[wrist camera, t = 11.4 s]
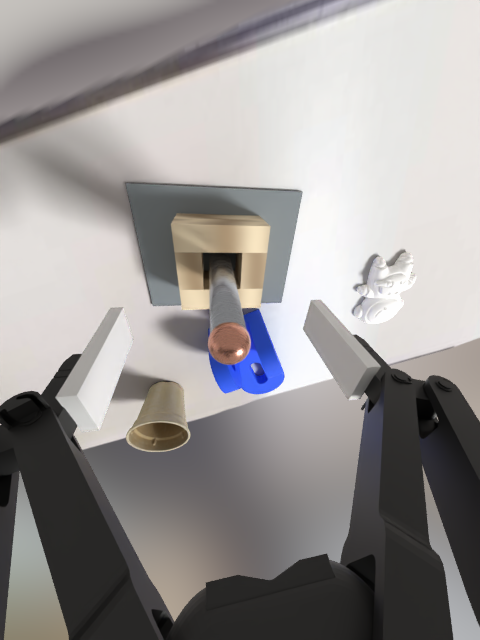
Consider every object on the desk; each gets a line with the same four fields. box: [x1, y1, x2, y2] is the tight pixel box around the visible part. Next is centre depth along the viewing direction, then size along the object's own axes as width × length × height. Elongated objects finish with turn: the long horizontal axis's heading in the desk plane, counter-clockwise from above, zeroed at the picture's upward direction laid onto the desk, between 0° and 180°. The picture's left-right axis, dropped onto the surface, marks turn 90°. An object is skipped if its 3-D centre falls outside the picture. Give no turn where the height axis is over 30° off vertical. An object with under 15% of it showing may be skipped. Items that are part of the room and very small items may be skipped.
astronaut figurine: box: [354, 252, 417, 324], centre depth 32 cm, size 9×12×3 cm
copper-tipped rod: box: [208, 253, 251, 365], centre depth 19 cm, size 3×3×17 cm
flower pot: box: [126, 382, 190, 452], centre depth 37 cm, size 9×9×9 cm
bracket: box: [208, 309, 284, 394], centre depth 34 cm, size 18×8×9 cm, turn 21°
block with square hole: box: [171, 213, 271, 310], centre depth 24 cm, size 9×9×5 cm
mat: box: [126, 183, 302, 306], centre depth 26 cm, size 18×14×1 cm
